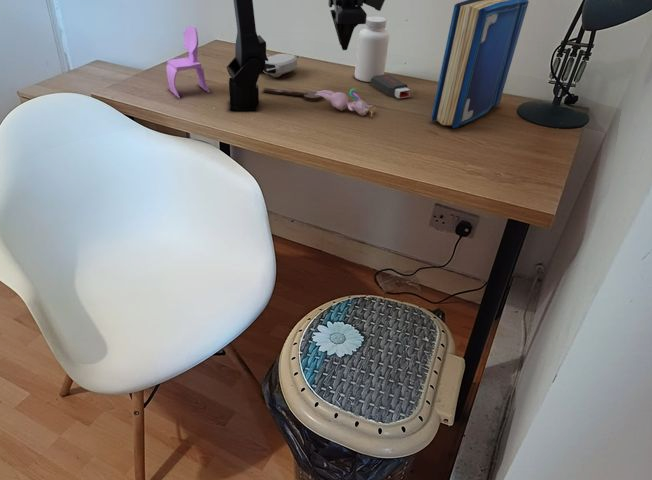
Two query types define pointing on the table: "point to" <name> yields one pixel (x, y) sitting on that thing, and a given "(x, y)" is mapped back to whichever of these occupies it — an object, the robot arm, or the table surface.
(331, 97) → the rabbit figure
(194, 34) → the toy chair
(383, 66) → the pill bottle
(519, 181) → the table surface
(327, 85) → the table surface
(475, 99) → the book
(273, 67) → the robot toy
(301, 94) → the spoon
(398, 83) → the usb drive
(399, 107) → the table surface
